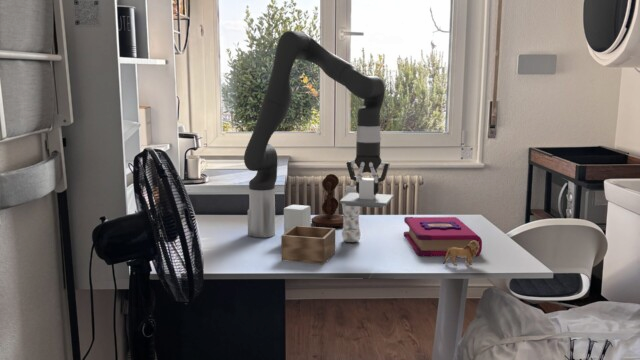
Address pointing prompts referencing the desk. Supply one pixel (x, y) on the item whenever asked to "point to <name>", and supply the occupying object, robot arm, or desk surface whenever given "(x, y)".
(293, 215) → the supplement box
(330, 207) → the brown wooden sculpture
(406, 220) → the book
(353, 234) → the plastic bottle
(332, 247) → the box
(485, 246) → the desk surface
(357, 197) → the lid
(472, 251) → the lion figurine
